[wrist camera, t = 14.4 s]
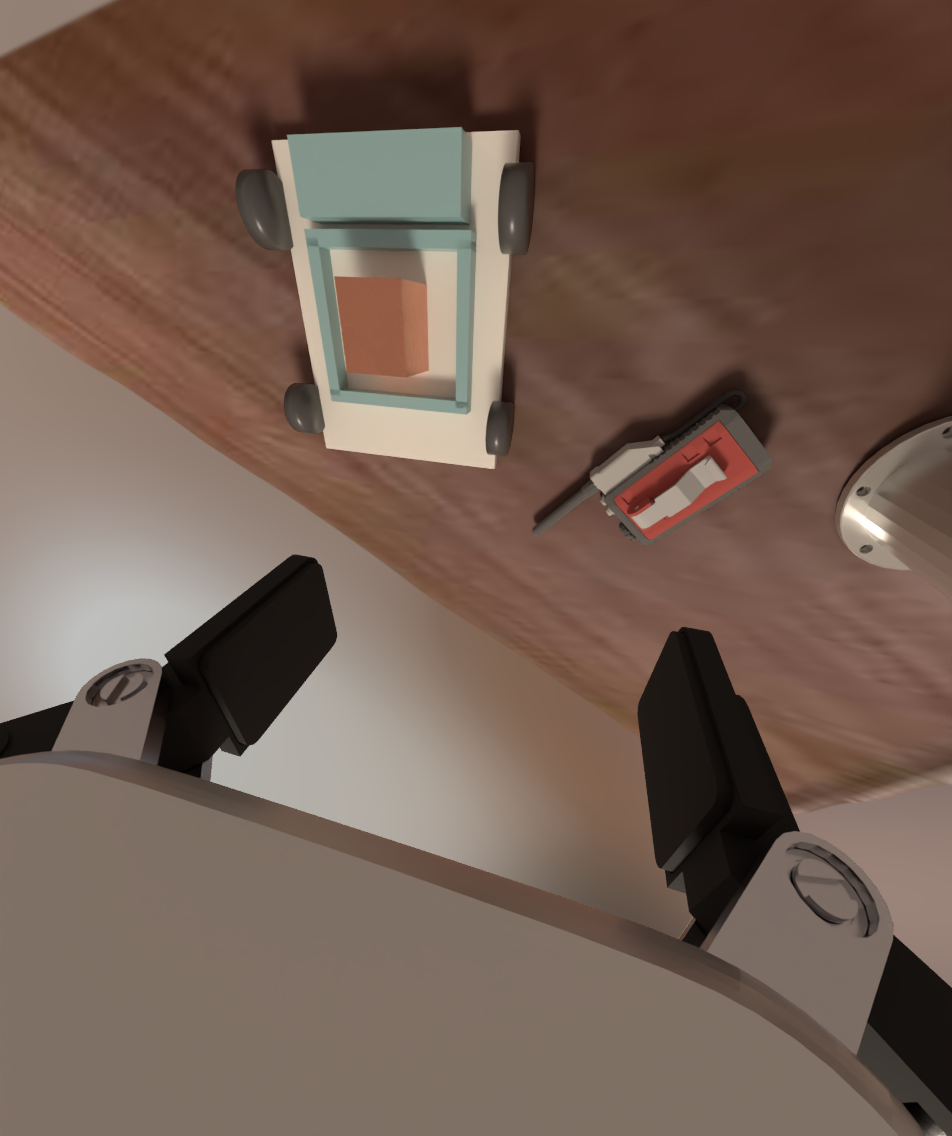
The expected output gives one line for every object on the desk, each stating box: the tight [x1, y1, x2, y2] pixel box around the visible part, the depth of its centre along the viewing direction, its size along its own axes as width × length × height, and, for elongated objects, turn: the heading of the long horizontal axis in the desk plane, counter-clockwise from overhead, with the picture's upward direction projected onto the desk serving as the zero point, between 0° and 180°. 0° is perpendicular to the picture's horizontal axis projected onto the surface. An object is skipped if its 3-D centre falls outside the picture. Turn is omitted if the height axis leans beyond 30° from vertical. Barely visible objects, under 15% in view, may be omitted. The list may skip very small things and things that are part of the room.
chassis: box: [236, 127, 534, 469], centre depth 31 cm, size 21×22×4 cm
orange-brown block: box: [334, 276, 429, 377], centre depth 29 cm, size 5×6×5 cm
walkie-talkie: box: [532, 389, 773, 545], centre depth 33 cm, size 9×4×20 cm
